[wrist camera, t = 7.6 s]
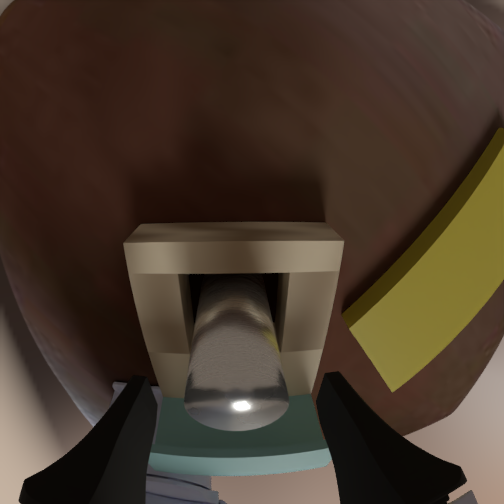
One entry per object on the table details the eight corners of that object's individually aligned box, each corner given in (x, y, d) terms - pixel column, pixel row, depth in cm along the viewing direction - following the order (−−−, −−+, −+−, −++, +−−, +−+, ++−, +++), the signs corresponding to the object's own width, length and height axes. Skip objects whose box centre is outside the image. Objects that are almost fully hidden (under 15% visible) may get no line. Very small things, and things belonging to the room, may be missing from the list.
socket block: (170, 374, 20) (165, 402, 18) (140, 224, 15) (123, 243, 12) (301, 372, 21) (309, 399, 18) (325, 222, 16) (344, 240, 13)
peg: (204, 313, 18) (192, 430, 10) (199, 260, 16) (175, 374, 8) (263, 312, 18) (284, 428, 10) (265, 259, 17) (295, 371, 8)
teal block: (165, 402, 18) (154, 470, 12) (155, 374, 16) (138, 450, 11) (309, 399, 18) (326, 466, 13) (317, 371, 17) (340, 445, 11)
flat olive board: (494, 127, 14) (315, 330, 20) (512, 129, 12) (323, 350, 18) (523, 219, 18) (384, 377, 24) (536, 226, 16) (392, 392, 22)
